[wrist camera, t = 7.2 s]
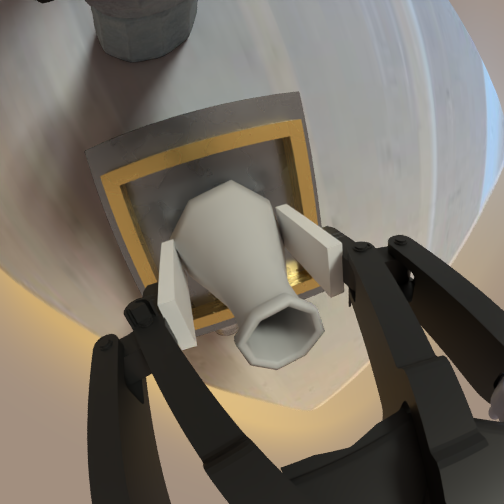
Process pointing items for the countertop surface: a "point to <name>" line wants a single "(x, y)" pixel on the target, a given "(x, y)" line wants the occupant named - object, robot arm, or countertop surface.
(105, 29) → the moka pot
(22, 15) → the countertop surface
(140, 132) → the plate
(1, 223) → the countertop surface
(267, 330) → the flask
